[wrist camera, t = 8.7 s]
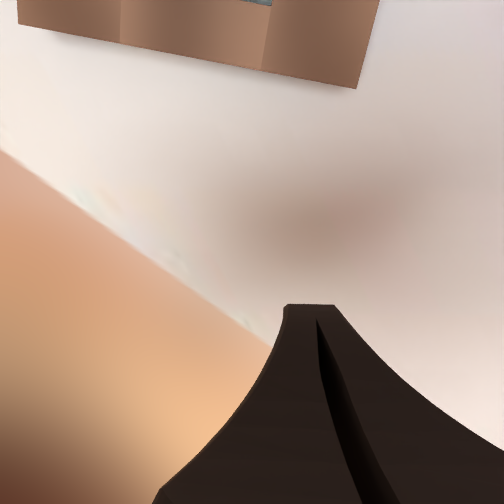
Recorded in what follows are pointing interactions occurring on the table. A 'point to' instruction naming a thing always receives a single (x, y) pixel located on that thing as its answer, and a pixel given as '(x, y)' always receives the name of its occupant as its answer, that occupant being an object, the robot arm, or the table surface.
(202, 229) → the table surface
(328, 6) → the walnut panel
